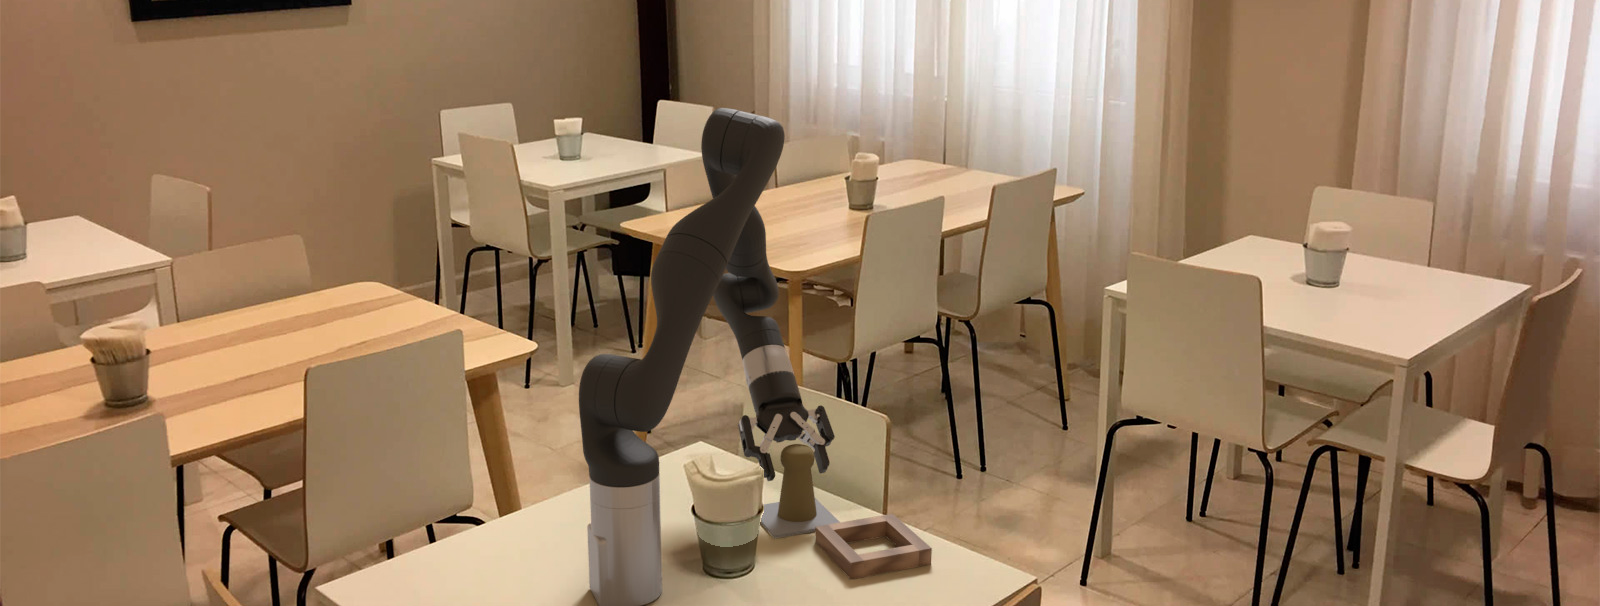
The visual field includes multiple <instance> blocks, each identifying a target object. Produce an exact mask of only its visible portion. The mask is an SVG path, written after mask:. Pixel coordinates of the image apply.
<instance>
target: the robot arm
mask: <svg viewBox="0 0 1600 606" xmlns="http://www.w3.org/2000/svg"><path fill="white" fill-rule="evenodd" d="M785 135H786V134H785V130H784V127H783V125H782V124H781V123H780V122H779V121H778V120H775V119H773V118H769V117H767V116H763V115H758V114H755V113H752V112H747V111H741V110H739V109H734V108H726V107H719V108H717V109H715V110H714V111H712V113H711V114H710V115H709V117H708V118H707V120H706V122H705V124H704V127H703V131H702V134H701V142H700V143H701V144H700V145H701V146H700V147H701V157H702V163H703V168H704V172H705V175H706V179H707V182H708V187H709V191H710V194H711V197H712V198H711V200H709V201H707V202H706V203H703V204H702V205H700V206H699V207H697V208H695V209H694V210H692V211H691V212H689V213H688V214H686V215H685V216H683V217H682V218H681V219H680V220H679V221H677V222H676V223H675V224H674V225H673V226H672V227H671V229H670V230H669V232H668V233H667V235H666V237H665V239H664V241H663V244H662V245H661V247H660V249H659V251H658V253H657V256H656V257H655V260H654V262H653V264H652V267H651V274H650V282H651V283H650V286H651V292H652V297H653V298H652V299H653V302H654V308H655V314H656V328H655V331H654V332H655V333H654V336H653V338H652V342H651V344H650V346H649V348H648V350H647V352H646V354H645V355H644V357H642V359H641V358H635V357H629V356H624V355H618V354H612V353H601V354H598V355H596V356H594V357H593V358H591V359H590V360H588V363H586V365H585V367H584V369H583V370H582V371H583V372H582V373H581V377H580V380H579V387H578V409H579V420H580V429H581V430H580V432H581V440H582V442H581V443H582V453H583V457H584V459H585V462H586V464H587V466H588V476H589V497H590V499H589V500H590V502H589V504H590V523H588V524H587V526H586V527H587V548H588V549H587V550H588V551H587V553H588V554H587V555H588V575H589V577H588V578H589V581H588V582H589V589H590V591H591V593H592V595H593V596H594V599H595V601H596V603H597V605H598V606H644V605H648V604H650V603H652V602H654V601H655V600H657V599H658V598H659V597H660V596H661V594H662V590H663V573H662V571H663V569H662V530H661V529H662V527H661V526H662V525H661V524H662V523H661V520H662V519H661V486H660V485H661V479H660V474H661V473H660V459H659V458H660V457H659V454H658V452H657V450H655V448H654V447H653V446H652V445H650V444H648V442H646V441H644V440H643V439H641V438H640V437H639V435H637V434H636V433H635V432H638V433H640V432H641V433H642V432H643V433H644V432H651V431H653V430H654V429H655V428H656V427H658V425H659V424H660V423H661V422H662V420H663V419H664V417H665V416H666V415H667V412H668V409H669V407H670V405H671V402H672V400H673V397H674V395H675V392H676V389H677V386H678V384H679V381H680V377H681V374H682V371H683V369H684V365H685V363H686V360H687V357H688V354H689V351H690V349H691V346H692V344H693V341H694V338H695V335H696V333H697V332H698V329H699V327H700V324H701V322H702V319H703V317H704V316H705V313H706V310H707V309H708V306H709V304H710V303H711V300H712V298H713V300H714V303H715V305H716V307H717V308H718V310H719V312H720V313H721V316H723V318H724V320H725V321H726V322H727V324H728V325H729V327H730V329H731V330H732V332H733V334H734V337H735V340H736V342H737V345H738V349H739V352H740V356H741V357H740V358H741V360H742V365H743V372H744V376H745V377H744V378H745V382H746V385H747V387H748V391H749V395H750V399H751V403H752V405H753V410H754V412H755V416H754V417H753V416H752V417H750V416H748V415H745V414H744V415H742V417H741V418H740V420H739V422H738V423H737V427H738V431H739V437H740V441H741V445H742V451H743V456H744V457H746V458H752V457H753V458H755V459H757V461H758V464H759V467H760V466H761V467H762V468H763V469H764V477H763V478H764V479H766V480H767V482H772V481H774V479H775V477H776V472H775V468H774V465H773V461H772V457H771V454H770V453H769V448H770V446H771V445H772V442H773V441H774V442H776V443H782V442H786V441H792V442H793V441H796V440H799V441H801V443H802V444H804V445H807V446H809V447H810V448H811V449H812V450H813V452H814V455H815V457H814V461H815V463H816V465H817V469H818V473H819V474H825V473H826V472H827V471H828V468H829V466H830V458H829V455H828V452H827V449H826V447H828V446H830V445H831V443H832V441H834V440H835V437H836V436H835V433H834V430H833V428H832V425H831V422H830V419H829V416H828V414H827V412H826V408H825V407H824V406H823V405H818V406H817V407H816V408H814V409H813V408H812V409H809V410H807V408H806V407H805V406H804V404H803V399H802V395H801V392H800V390H799V389H800V388H799V386H798V383H797V378H796V376H795V373H794V368H793V365H792V362H791V359H790V358H789V355H788V353H787V351H786V347H785V343H784V341H783V338H782V334H781V330H780V327H779V325H778V323H777V321H776V320H775V319H774V318H772V317H770V316H762V315H761V316H760V315H751V314H749V313H753V312H755V313H756V312H758V311H763V310H768V309H770V308H772V307H773V306H774V305H775V304H776V302H777V301H778V299H779V285H778V282H777V279H776V277H775V275H774V273H773V271H772V269H771V267H770V265H769V262H768V261H769V260H768V256H767V238H766V237H767V233H766V227H765V223H764V219H763V218H762V215H761V213H760V212H759V210H758V208H757V207H756V206H755V205H756V204H757V202H758V201H759V199H760V197H761V195H762V194H763V192H764V190H765V189H766V186H767V185H768V183H769V181H770V179H771V177H772V175H773V173H774V171H775V170H776V168H777V166H778V165H779V164H778V163H779V161H780V158H781V156H782V153H783V150H784V145H785V137H786V136H785ZM725 271H726V272H727V273H725ZM809 419H810V420H811V421H812V423H813V424H816V425H815V426H816V428H817V430H818V433H819V434H818V433H817V431H816V429H815V428H814V427H813V426H812V425H810V424H809V423H808V420H809ZM755 426H756V428H757V429H759V430H760V431H761V432H762V433H764V436H763V438H762V440H761V443H760V445H759V446H758V445H756V444H755V439H754V434H753V431H754V429H755Z"/></svg>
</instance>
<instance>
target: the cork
mask: <svg viewBox="0 0 1600 606" xmlns="http://www.w3.org/2000/svg"><path fill="white" fill-rule="evenodd" d="M780 463H781V465H782V467H783V472H782V473H783V475H782V481H781V489H780V495H779V501H778V502H779V509H778V516H779V517H780V518H781V519H783V520H786V521H791V522H804V521H809V520H811V519H813V518H815V517H816V515H817V511H816V504H815V498H816V497H815V489H814V481H813V475H812V474H813V473H812V467H813V465H814V464H815V455H814V449H812V448H811V447H810V446H809V445H808V444H804V443H802V444H801V443H793V444H789V445H786V446H784V447H783V449H782V450H781V453H780Z"/></svg>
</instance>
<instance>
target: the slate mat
mask: <svg viewBox="0 0 1600 606" xmlns="http://www.w3.org/2000/svg"><path fill="white" fill-rule="evenodd" d="M779 502H780V501H776V502H770V503H764V504H762V505H764V513H763V515H762V518H761V523H760V525H762V526H763V528H764V529H765V530H766V531H767V533H769V534H770V536H772V538H773V539H779V538H784V537H785V538H786V537H790V536H791V537H792V536H797V535H801V534H802V535H803V534H808V533H813V532H814V533H815V527H816V526H822V525H828V524H834V523H840V522H841V521H840V520H838V518H837V517H836V516H835V515H834V514H832V513H831V512H830V510H828V508H826V507H825V506H824V505H823V504H822V503H821V502H820V501H819V500H818V499H817V498H816V497H815V504H816V511H817V515H816V517H815V518H813V519H811V520H809V521H804V522H791V521H786V520H783V519H781V518H780V517H779V516H778V509H779Z"/></svg>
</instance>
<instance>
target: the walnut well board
mask: <svg viewBox="0 0 1600 606" xmlns="http://www.w3.org/2000/svg"><path fill="white" fill-rule="evenodd" d="M839 522H840V523H834V524H828V525H822V526H816V527H815V532H814V533H815V535H814V537H815V538H814V541H815V544H816V545H817V546H818V547H819V548H820V549H821V550H822V551H823V552H824V553H825V554H826V555H827V557H829V558H830V559H831V561H832V562H833V563H835V565H836V566H837V567H838V568H840V570H841V571H842V572H843V573H844V574H845V576H847V577H848V578H849V580H853V579H854V580H855V579H860V578H865V577H870V576H875V575H881V574H886V573H891V572H898V571H901V570H902V571H903V570H907V569H913V568H918V567H924V566H928V565H932V551H933V549H932V547H931V546H930V545H929V544H928V543H927V542H925V540H923V539H922V538H921V537H920V536H919V535H918V534H916V533H915V532H914V531H913V529H911V528H910V527H909V526H907V525H906V524H905V523H904V522H903V521H901V520H900V518H898V517H897V516H896V515H895V514H894V513H888V514H882V515H877V516H870V517H864V518H858V519H852V520H847V521H846V520H845V521H839ZM884 537H886V538H887V539H888V540H889V541H890V542H892V543H893V544H894V546H896V547H893V548H887V549H882V550H876V551H870V552H864V553H863V552H862V553H857V552H856V551H855V549H853V548H852V547H851V546H850V545H849V544H850V543H856V542H861V541H866V540H867V541H869V540H872V539H878V538H884Z"/></svg>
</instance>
